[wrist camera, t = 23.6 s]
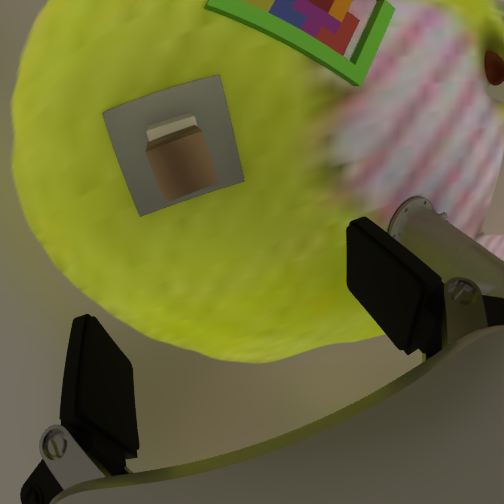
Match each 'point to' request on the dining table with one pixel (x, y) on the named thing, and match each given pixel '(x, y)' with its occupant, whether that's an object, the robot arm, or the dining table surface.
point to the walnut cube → (181, 163)
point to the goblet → (494, 68)
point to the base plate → (162, 108)
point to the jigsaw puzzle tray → (315, 29)
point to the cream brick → (170, 126)
